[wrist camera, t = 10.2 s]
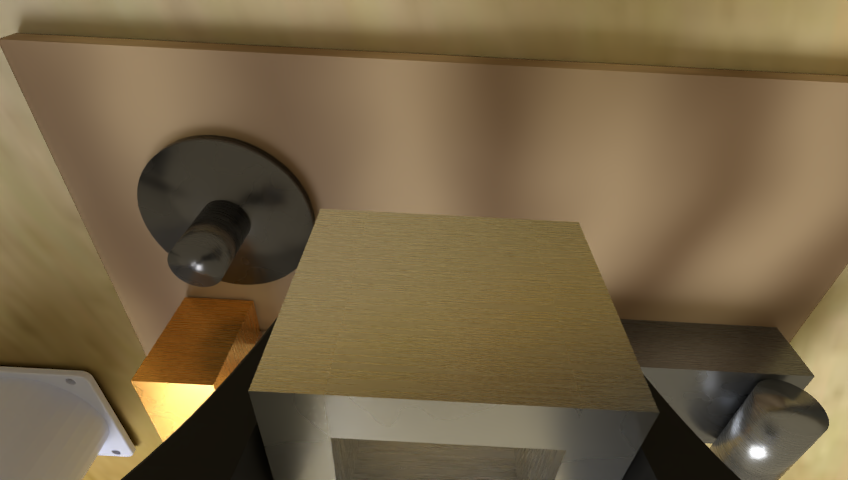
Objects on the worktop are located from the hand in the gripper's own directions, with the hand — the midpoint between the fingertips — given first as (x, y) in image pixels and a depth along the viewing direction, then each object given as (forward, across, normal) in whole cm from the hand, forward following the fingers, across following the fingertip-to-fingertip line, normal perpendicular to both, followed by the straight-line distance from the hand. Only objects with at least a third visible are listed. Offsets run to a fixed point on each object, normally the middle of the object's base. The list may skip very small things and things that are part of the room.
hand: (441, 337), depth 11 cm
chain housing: (+7, -10, +9) cm, 15 cm away
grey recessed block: (+1, 0, 0) cm, 1 cm away
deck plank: (+8, -1, +4) cm, 9 cm away
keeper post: (+8, +8, +2) cm, 11 cm away
